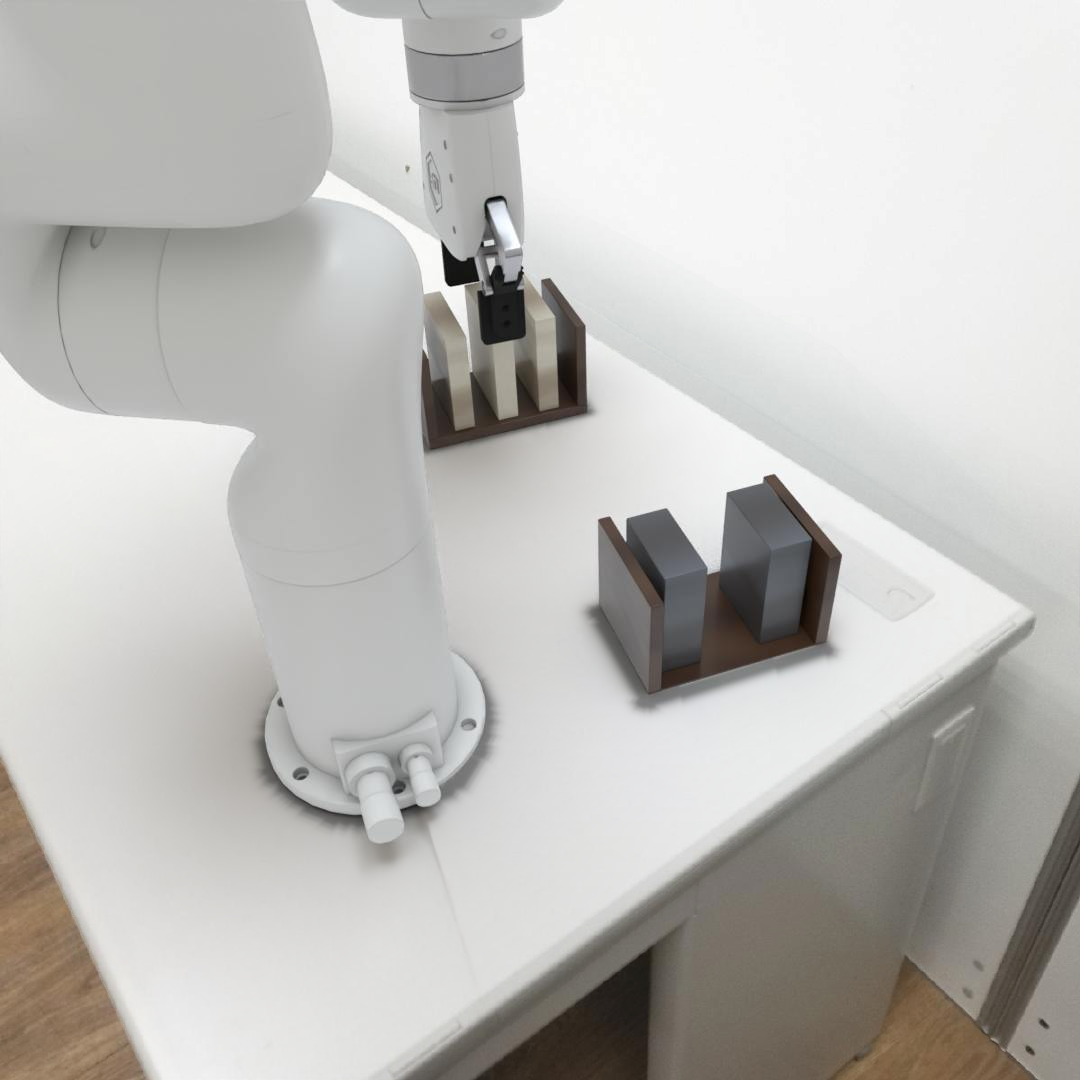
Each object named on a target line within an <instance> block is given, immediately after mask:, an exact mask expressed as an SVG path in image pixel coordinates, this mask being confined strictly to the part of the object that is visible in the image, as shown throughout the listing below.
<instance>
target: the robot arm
mask: <svg viewBox="0 0 1080 1080" xmlns="http://www.w3.org/2000/svg"><path fill="white" fill-rule="evenodd" d="M331 1H332V3H334V4H335V5H337V6H338V7H339V8H341V9H343V10H344V11H346V12H348V13H351V14H354V15H357V16H359V17H364V18H370V19H371V18H372V19H382V20H383V19H384V20H390V19H391V20H401V26H402V35H403V42H404V43H403V46H404V54H405V55H404V56H405V63H406V65H405V66H406V75H407V84H408V90H409V98H410V99H411V101H412V102H414V104H416V105H418V125H419V126H418V127H419V143H420V159H421V161H420V163H421V177H422V190H423V191H422V192H423V204H424V205H423V206H424V211H425V214H426V217H427V219H428V221H429V222H430V225H431V226H432V227H433V229H434V231H435V232H436V234H437V235H438V237H439V239H440V246H441V256H442V257H441V258H442V268H443V276H444V277H443V278H444V283H445V284H446V286H448V287H449V288H452V287H458V286H464V285H468V284H473V283H478V282H480V284H481V288H482V290H480V291H477V298H478V310H479V323H480V335H481V340H482V342H483V343H484V344H485V345H492V344H497V343H502V342H507V341H512V340H517V339H521V338H523V337H525V335H526V321H525V301H524V278H523V275H524V274H525V272H524V271H523V270H524V265H522V264H523V258H524V250H523V245H524V242H525V205H524V204H525V203H524V191H523V190H524V189H523V176H522V175H523V174H522V166H521V155H520V145H519V132H518V126H517V119H516V112H515V105H514V104H515V103H514V101H515V100H518V99H519V98H520V97H521V96H523V94H524V93H525V91H526V84H525V83H526V82H525V60H524V39H523V38H524V37H523V20H529V19H530V20H531V19H537V18H541V17H543V16H544V15H547V14H549V13H552V12H554V11H555V10H556V9H558V8H559V6H560V5H561V4H562V3H563V2H564V1H565V0H331ZM332 117H333V115H332V109H331V100H330V94H329V89H328V81H327V77H326V73H325V68H324V64H323V61H322V56H321V51H320V47H319V44H318V40H317V36H316V33H315V29H314V26H313V21H312V19H311V14H310V10H309V7H308V4H307V0H0V354H1V355H2V357H3V358H4V360H5V361H6V362H7V363H8V364H9V366H10V367H11V368H12V369H13V370H14V372H16V373H17V375H18V376H19V377H20V378H21V379H22V380H23V381H24V382H25V383H26V384H27V385H29V386H30V387H31V388H32V389H33V390H34V391H35V392H37V393H38V394H39V395H41V396H42V397H44V398H45V399H47V400H49V401H51V402H53V403H54V404H56V405H58V406H61V407H63V408H67V409H68V410H73V411H77V412H83V413H88V414H95V415H101V416H102V415H103V416H113V417H123V418H136V419H137V418H138V419H140V418H141V419H153V420H166V421H181V422H194V423H201V424H205V425H215V426H228V427H232V428H233V427H234V428H238V429H242V430H245V431H248V432H250V433H252V434H253V435H254V438H252V441H251V442H250V443H249V444H248V445H247V447H246V449H245V450H244V452H243V453H242V454H241V456H240V458H239V460H238V462H237V463H236V465H235V467H234V470H233V472H232V475H231V477H230V480H229V484H228V489H227V495H226V496H227V497H226V509H227V510H226V511H227V519H228V523H229V527H230V531H231V534H232V538H233V542H234V545H235V549H236V551H237V554H238V557H239V560H240V563H241V567H242V570H243V574H244V577H245V580H246V585H247V587H248V591H249V594H250V597H251V600H252V604H253V607H254V608H253V609H254V610H255V614H256V617H257V621H258V624H259V626H260V632H261V634H262V637H263V641H264V644H265V647H266V651H267V655H268V657H269V662H270V664H271V665H270V666H271V668H272V671H273V674H274V678H275V682H276V684H277V688H278V690H277V691H276V694H275V695H274V697H273V698H272V700H271V703H270V705H269V709H268V711H267V715H266V718H265V722H264V723H265V725H264V742H265V746H266V747H265V748H266V752H267V755H268V758H269V761H270V763H271V766H272V768H273V771H274V772H275V774H276V775H277V777H278V779H279V780H280V781H281V784H283V785H284V786H285V787H286V788H287V789H288V790H289V791H290V792H291V793H293V794H294V795H295V796H296V797H297V798H299V799H301V800H302V801H304V802H306V803H308V804H309V805H311V806H313V807H317V808H319V809H322V810H326V811H328V812H330V813H337V814H344V815H351V816H362V820H363V824H364V827H365V831H366V835H367V839H368V840H369V841H370V842H372V843H373V844H386V843H391V842H392V841H395V840H396V839H398V838H400V837H401V835H402V834H403V833H404V832H405V828H406V825H405V821H404V818H403V814H402V811H401V810H403V809H405V808H408V807H411V806H414V805H417V806H419V807H421V808H426V807H431V806H433V805H435V804H437V803H438V802H439V801H441V798H442V792H441V791H442V790H441V788H440V787H441V786H442V785H444V784H445V783H446V782H447V781H449V780H450V779H451V778H452V777H454V776H455V775H456V774H457V773H458V772H459V771H460V770H461V769H462V768H463V767H464V766H465V764H466V763H467V762H468V761H469V759H470V758H471V756H472V755H473V754H474V752H475V750H476V749H477V747H478V745H479V743H480V740H481V738H482V736H483V732H484V728H485V724H486V716H487V708H486V707H487V706H486V697H485V693H484V691H483V690H484V689H483V686H482V682H481V681H480V680H479V677H478V676H477V674H476V672H475V670H474V669H473V668H472V667H471V666H470V665H469V664H468V662H467V661H466V660H465V659H464V658H463V657H461V655H459V654H458V653H456V652H455V651H453V650H452V648H451V641H450V635H449V627H448V621H447V614H446V608H445V607H446V606H445V599H444V591H443V585H442V578H441V571H440V570H441V569H440V564H439V556H438V555H439V554H438V550H437V549H438V548H437V543H436V535H435V528H434V521H433V514H432V508H431V507H432V506H431V500H430V493H429V492H430V491H429V485H428V478H427V477H428V476H427V469H426V461H425V451H424V440H423V433H422V423H421V373H422V352H423V349H424V334H425V328H424V294H425V291H424V284H423V276H422V271H421V267H420V263H419V260H418V258H417V255H416V252H415V251H414V248H413V246H412V244H411V243H410V242H409V240H408V239H407V237H406V236H405V235H404V234H403V233H402V232H401V231H400V230H399V229H398V227H396V226H395V225H394V224H392V223H391V222H390V221H389V220H387V219H386V218H384V217H382V216H381V215H379V214H377V213H376V212H373V211H371V210H369V209H366V208H365V207H362V206H358V205H356V204H353V203H349V202H346V201H340V200H335V199H330V198H325V197H319V196H318V197H317V196H313V195H314V193H315V192H316V190H318V188H319V186H320V185H321V184H322V182H323V180H324V178H325V176H326V173H327V170H328V166H329V162H330V159H331V156H332V153H333V152H332V151H333V144H334V130H333V129H334V127H333V118H332ZM487 241H494V244H491V245H485V242H487ZM495 258H497V261H498V264H496V265H494V266H493V267H492V270H491V272H490V269H489V265H488V260H489V259H490V260H491V259H495ZM471 724H472V725H474V726H475V727H474V728H472V729H470V730H465V729H463V727H464V726H466V725H471Z"/></svg>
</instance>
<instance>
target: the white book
mask: <svg viewBox="0 0 1080 1080" xmlns="http://www.w3.org/2000/svg"><path fill="white" fill-rule="evenodd" d="M463 288H464V298H465V308H466V309H465V310H466V318H467V327H468V329H467V330H468V339H469V349H470V358H471V369H472V372H473V375H474V376H475V378H476V380H477V382H478V384H479V385H480V387H481V389H482V391H483V393H484V394H485V396H486V398H487V400H488V402H489V403H490V405H491V407H492V409H493V411H494V412H495V414H496V416H497V418H498V420H502V419H507V418H511V417H515V416H518V404H517V389H516V374H515V360H514V345H513V340H512V341H507V342H502V343H497V344H492V345H485V344H484V343H483V342H482V340H481V335H480V323H479V310H478V298H477V291H480V290H482V288H481V284H480V282H475V283H469V284H464V285H463Z"/></svg>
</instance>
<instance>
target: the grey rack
mask: <svg viewBox="0 0 1080 1080" xmlns="http://www.w3.org/2000/svg"><path fill="white" fill-rule="evenodd" d="M724 506H725V507H724V518H723V529H722V530H723V532H722V541H721V554H720V556H721V557H720V566H719V570H718V571H715V572H711V573H708V572H709V571H708V570H709V568H708V565H707V564H706V563H705V562H704V559H703V558H702V557H701V555H700V554H699V552H698V551H697V550H696V548H695V547H694V545H693V544H692V542H691V541H690V540H689V538H688V537H687V535H686V534H685V532H684V531H683V529H682V528H681V525H680V524H678V522H677V521H676V519H675V517H674V516H673V515H672V513H671V512H670V510H669V509H668V508H667V507H664V508H661V509H657V510H653V511H649V512H645V513H642V514H638V515H634V516H630V517H627V518H626V519H625V521H626V523H625V526H626V527H625V538H626V539H625V538H624V536H623V535H622V533H621V531H620V530H619V528H618V527H617V526H616V523H615V522H614V521H613V519H612V517H611V515H609V516H605V517H601V518H598V519H597V541H598V542H597V546H598V547H597V548H598V549H597V551H598V552H597V556H598V561H597V563H598V606H599V607H600V609H601V611H602V613H603V614H604V617H605V618H606V621H607V622H608V624H609V626H610V627H611V629H612V631H613V633H614V635H615V636H616V638H617V640H618V642H619V644H620V645H621V647H622V649H623V651H624V653H625V654H626V656H627V658H628V660H629V662H630V664H631V665H632V667H633V669H634V671H635V672H636V675H637V677H638V678H639V680H640V682H641V683H642V685H643V687H644V689H645V691H646V693H647V694H648V695H652V694H655V693H659V692H662V691H666V690H669V689H673V688H676V687H678V686H682V685H685V684H686V685H687V684H690V683H693V682H697V681H699V680H703V679H706V678H710V677H713V676H717V675H720V674H723V673H726V672H727V673H728V672H730V671H733V670H737V669H741V668H744V667H746V666H750V665H753V664H757V663H760V662H763V661H767V660H770V659H774V658H776V657H781V656H784V655H787V654H791V653H794V652H797V651H800V650H803V649H808V648H811V647H814V646H817V645H821V644H825V643H827V641H828V635H829V630H830V625H831V619H832V614H833V610H834V609H833V608H834V603H835V597H836V592H837V587H838V586H837V585H838V580H839V575H840V570H841V564H842V560H843V559H842V558H843V554H842V553H841V551H840V550H839V549H838V547H837V546H836V545H835V544H834V543H833V542H832V540H831V539H830V538H829V537H828V536H827V534H826V533H825V532H824V531H823V530H822V529H821V527H820V526H819V525H818V524H817V523H816V521H815V520H814V519H813V518H812V516H811V515H810V514H809V513H808V512H807V510H806V509H805V508H804V507H803V505H802V504H801V503H800V502H799V501H798V500H797V498H796V497H795V496H794V495H793V494H792V492H791V491H790V490H789V489H788V488H787V487H786V485H785V484H784V483H783V481H781V479H780V478H779V477H778V476H777V474H776V473H772V474H769V475H768V474H767V475H764V476H763V478H762V482H761V483H756V484H754V485H750V486H746V487H742V488H738V489H734V490H731V491H727V492H726V496H725V505H724Z"/></svg>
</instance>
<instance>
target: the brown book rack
mask: <svg viewBox="0 0 1080 1080" xmlns="http://www.w3.org/2000/svg"><path fill="white" fill-rule="evenodd" d="M523 278H524V301H525V321H526V335H525V337H523V338H521V339H517V340H513V345H514V360H515V374H516V389H517V404H518V416H515V417H511V418H507V419H502V420H498V418H497V416H496V414H495V412H494V411H493V409H492V407H491V405H490V403H489V402H488V400H487V398H486V396H485V394H484V393H483V391H482V389H481V387H480V385H479V384H478V382H477V380H476V378H475V376H474V375H473V371H470V362H469V351H468V341H467V340H468V339H467V335H466V334H465V331H464V330H463V328H462V326H461V325H460V323H459V321H458V320H457V318H456V316H455V314H454V312H453V310H452V309H451V307H450V305H449V304H448V302H447V300H446V298H445V297H444V295H443V294H442V291H440V290H438V291H433V292H428V293H424V335H425V342H426V350H427V351H426V352H427V354H426V352H425V349H424V348H423V352H422V373H421V423H422V436H423V437H424V439H425V442H426V444H427V447H428V449H429V450H432V449H437V448H442V447H445V446H450V445H453V444H459V443H462V442H466V441H471V440H475V439H479V438H484V437H488V436H493V435H496V434H501V433H506V432H509V431H514V430H518V429H523V428H526V427H531V426H535V425H539V424H540V425H541V424H544V423H548V422H552V421H557V420H560V419H565V418H569V417H574V416H577V415H582V414H587V413H588V385H587V383H588V382H587V377H588V376H587V330H586V324H585V323H584V321H583V320H582V318H581V317H580V316H579V314H578V313H577V312H576V310H575V309H574V307H573V306H572V305H571V304H570V303H569V301H568V300H567V299H566V297H565V295H564V294H563V293H562V292H561V290H560V289H559V288H558V286H557V285H556V284H555V282H554V281H553V280H552V279H551V277H547V278H541V280H540V286H541V287H540V289H541V295H540V293H539V292H538V290H537V289H536V287H534V285H533V283H532V282H531V281H530V279H529V278H528V276H527V275H526V274H525V273H524V275H523Z"/></svg>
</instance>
